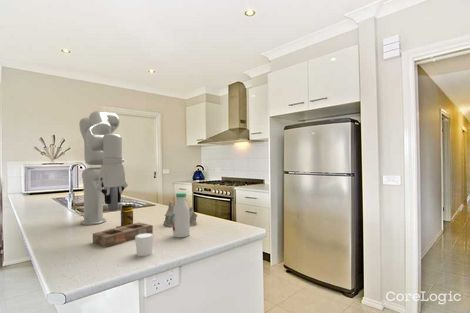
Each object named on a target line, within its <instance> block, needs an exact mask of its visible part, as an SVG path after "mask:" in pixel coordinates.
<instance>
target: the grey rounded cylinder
mask: <svg viewBox="0 0 470 313" xmlns="http://www.w3.org/2000/svg"><path fill="white" fill-rule="evenodd" d="M109 195H110V196H111V203H110V204H107V212H115V211H119V203H118V187H116V186H115V187H112V188H110V192H109Z"/></svg>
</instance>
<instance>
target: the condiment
mask: <svg viewBox="0 0 470 313" xmlns="http://www.w3.org/2000/svg"><path fill="white" fill-rule="evenodd" d="M130 224H134V209H133V204H130V203H129V204H128V203H127V204H125V203H124V204H122V205H121V210H120V225H117V226H115V228H118V227H122V226H126V225H130Z"/></svg>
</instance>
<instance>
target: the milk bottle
mask: <svg viewBox="0 0 470 313" xmlns="http://www.w3.org/2000/svg"><path fill="white" fill-rule="evenodd" d="M175 197H176V200H175V205H173V206H174V209H173V227H172V235H173V237H175V238H186V237H189V236H190V234H191V233H190V232H191V231H190V227H191V226H190V218H189V208H190V206H188V203H187V200H186V198H187V193H186V192H178V193H175Z"/></svg>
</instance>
